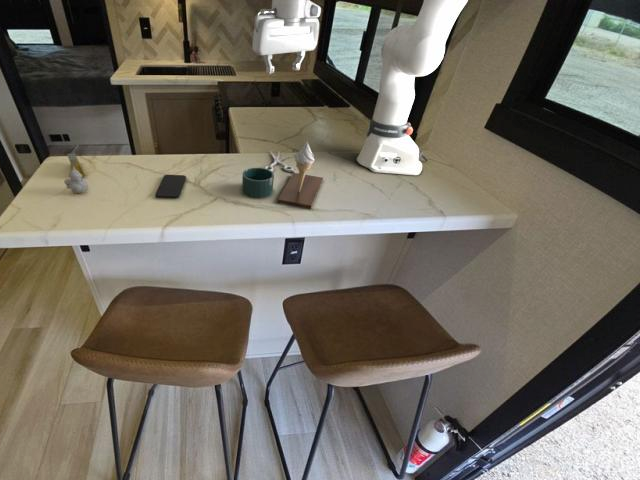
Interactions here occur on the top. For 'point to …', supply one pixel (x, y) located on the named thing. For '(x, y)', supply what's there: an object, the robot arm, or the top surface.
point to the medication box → (75, 163)
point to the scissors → (280, 164)
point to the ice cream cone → (303, 162)
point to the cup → (257, 182)
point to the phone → (170, 186)
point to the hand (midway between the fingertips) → (283, 71)
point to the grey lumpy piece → (76, 182)
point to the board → (301, 191)
